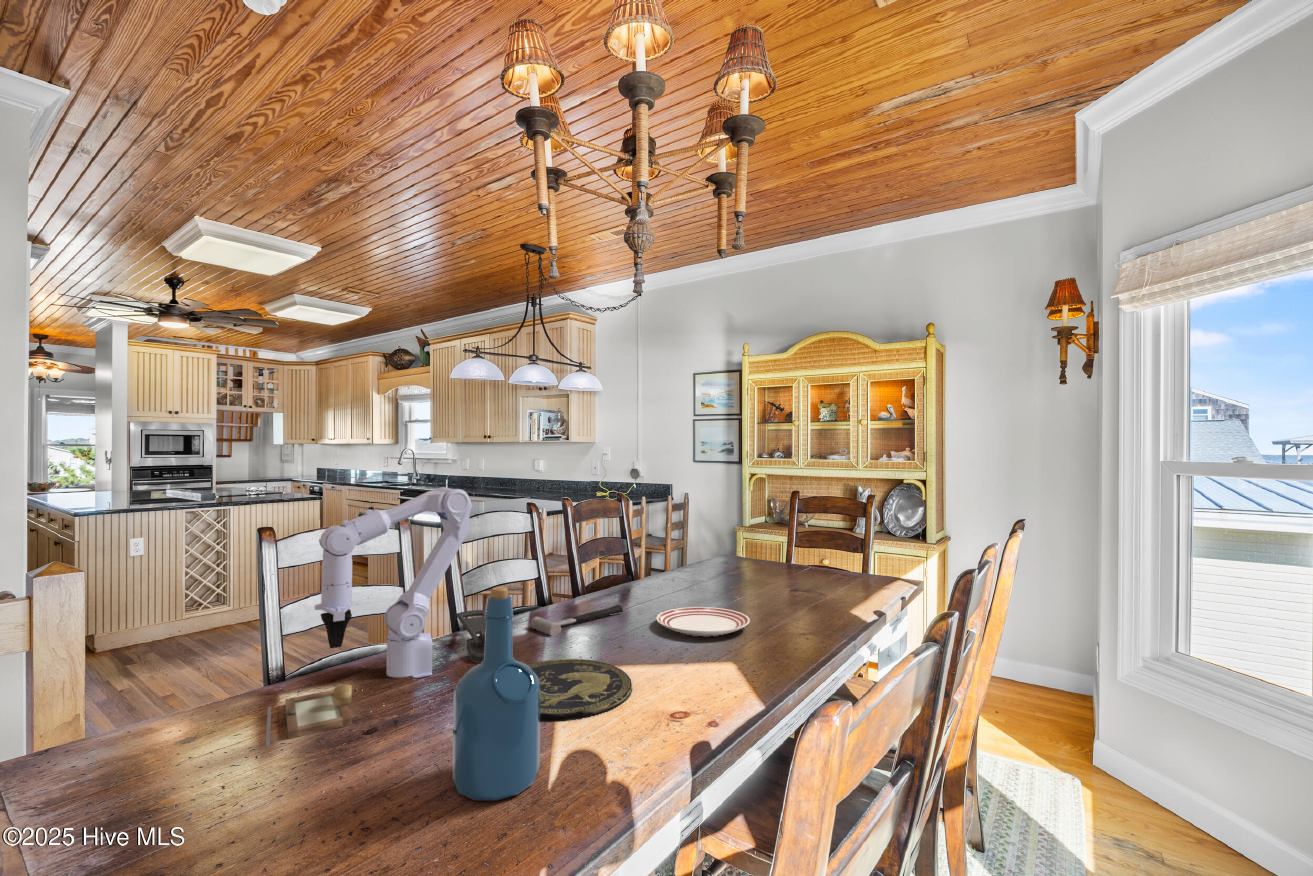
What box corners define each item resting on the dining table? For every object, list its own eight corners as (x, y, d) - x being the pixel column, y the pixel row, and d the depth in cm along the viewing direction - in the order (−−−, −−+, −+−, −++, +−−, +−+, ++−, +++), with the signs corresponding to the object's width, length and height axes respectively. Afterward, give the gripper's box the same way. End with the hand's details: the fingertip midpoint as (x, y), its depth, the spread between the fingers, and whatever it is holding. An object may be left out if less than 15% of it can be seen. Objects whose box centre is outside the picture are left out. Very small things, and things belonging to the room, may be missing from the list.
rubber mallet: (629, 606, 184) (550, 625, 162) (629, 618, 183) (550, 638, 162) (609, 600, 190) (530, 617, 169) (609, 612, 190) (530, 630, 169)
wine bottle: (437, 779, 92) (440, 587, 93) (511, 749, 101) (514, 575, 102) (479, 818, 82) (482, 604, 83) (557, 782, 92) (560, 589, 92)
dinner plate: (645, 618, 181) (645, 608, 181) (726, 612, 189) (726, 602, 190) (673, 647, 155) (673, 634, 155) (766, 638, 163) (766, 626, 163)
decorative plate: (464, 705, 115) (527, 652, 144) (464, 714, 115) (527, 660, 144) (611, 722, 109) (645, 664, 139) (611, 732, 109) (645, 672, 139)
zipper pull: (486, 608, 167) (511, 632, 145) (485, 631, 166) (510, 659, 145) (453, 612, 162) (474, 637, 140) (453, 636, 162) (473, 665, 140)
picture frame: (346, 693, 121) (346, 672, 121) (356, 723, 108) (357, 700, 108) (285, 705, 115) (285, 684, 115) (287, 739, 102) (288, 714, 102)
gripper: (313, 578, 129) (312, 640, 129) (317, 592, 117) (315, 660, 116) (349, 574, 133) (348, 635, 132) (356, 588, 120) (355, 654, 120)
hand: (335, 646), depth 125 cm, fingers closed
